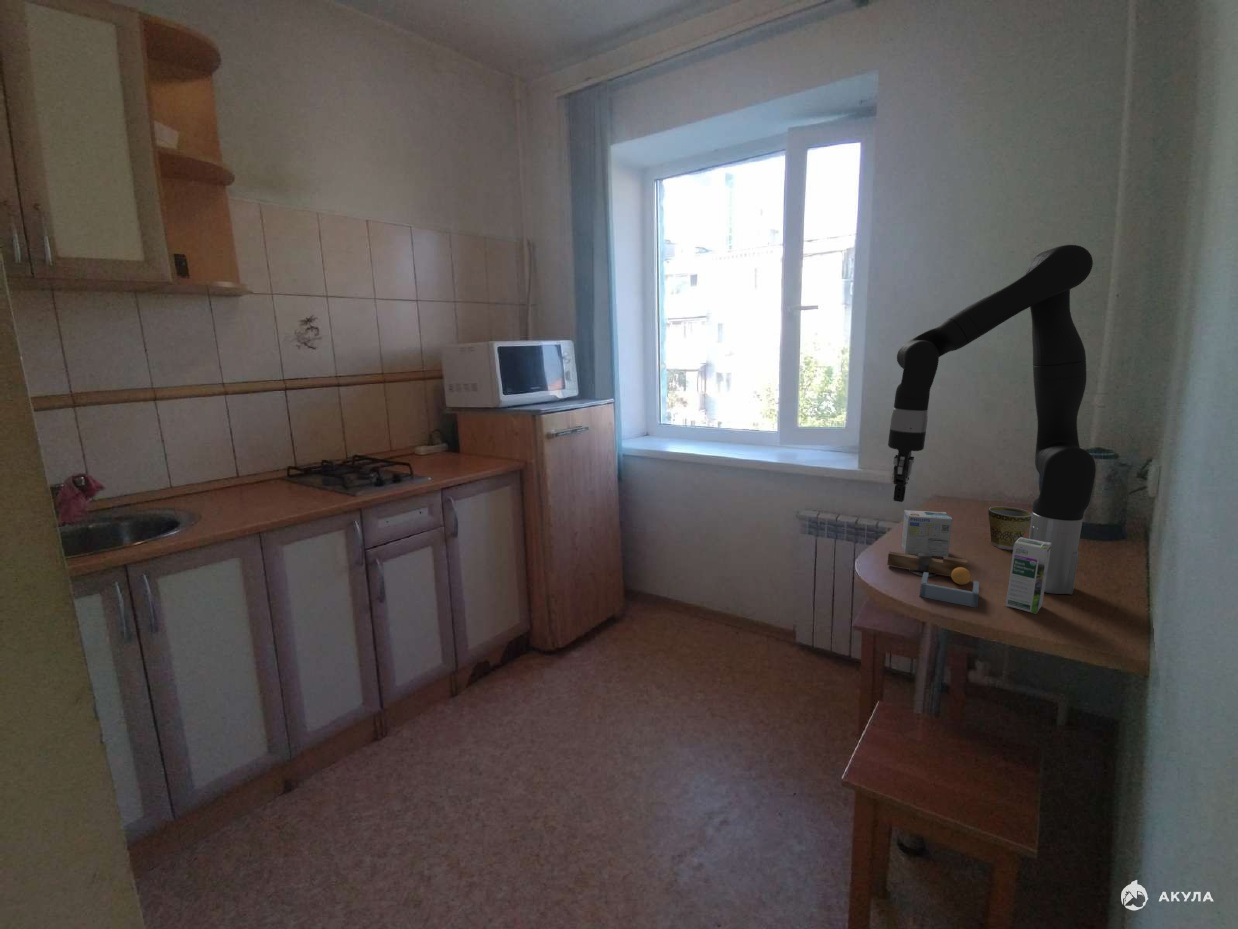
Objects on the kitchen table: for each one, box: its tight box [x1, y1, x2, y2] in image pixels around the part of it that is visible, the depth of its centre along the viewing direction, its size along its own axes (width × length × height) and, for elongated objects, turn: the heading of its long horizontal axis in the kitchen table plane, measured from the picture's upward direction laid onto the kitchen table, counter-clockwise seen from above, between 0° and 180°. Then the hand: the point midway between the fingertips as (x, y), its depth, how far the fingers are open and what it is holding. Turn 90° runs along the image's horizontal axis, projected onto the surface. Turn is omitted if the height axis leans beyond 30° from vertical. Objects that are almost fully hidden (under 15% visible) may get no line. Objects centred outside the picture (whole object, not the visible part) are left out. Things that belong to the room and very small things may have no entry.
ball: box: [950, 567, 972, 586], centre depth 135 cm, size 4×4×4 cm
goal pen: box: [919, 572, 980, 609], centre depth 130 cm, size 11×8×3 cm
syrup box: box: [1005, 536, 1051, 615], centre depth 123 cm, size 6×6×14 cm
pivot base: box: [909, 569, 938, 578], centre depth 143 cm, size 6×6×1 cm
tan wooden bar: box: [886, 550, 968, 577], centre depth 142 cm, size 17×3×4 cm, turn 58°
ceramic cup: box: [987, 505, 1032, 551], centre depth 161 cm, size 13×10×10 cm
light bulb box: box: [901, 509, 953, 558], centre depth 156 cm, size 11×7×11 cm, turn 74°
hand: (898, 500), depth 138 cm, fingers closed
